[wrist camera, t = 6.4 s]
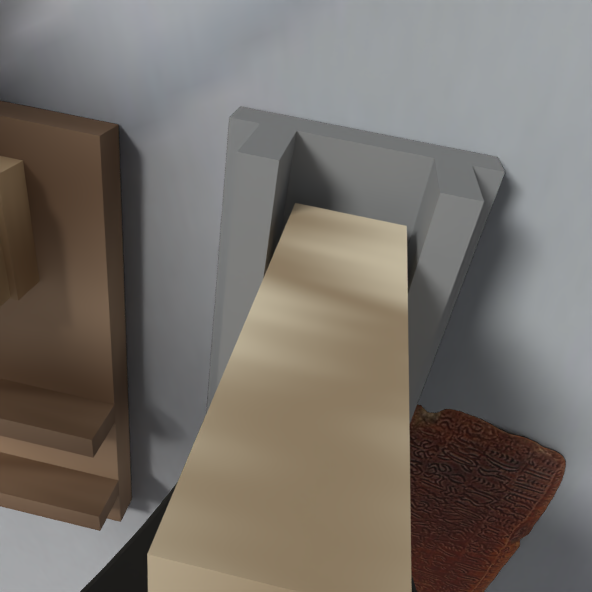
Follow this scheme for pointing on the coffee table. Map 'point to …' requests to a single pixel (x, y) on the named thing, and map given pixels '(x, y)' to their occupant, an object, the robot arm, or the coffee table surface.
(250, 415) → the birch panel
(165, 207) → the coffee table surface
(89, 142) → the walnut rack
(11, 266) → the offcut stack
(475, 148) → the coffee table surface
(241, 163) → the grey channel block
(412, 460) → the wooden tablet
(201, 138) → the coffee table surface
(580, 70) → the coffee table surface
